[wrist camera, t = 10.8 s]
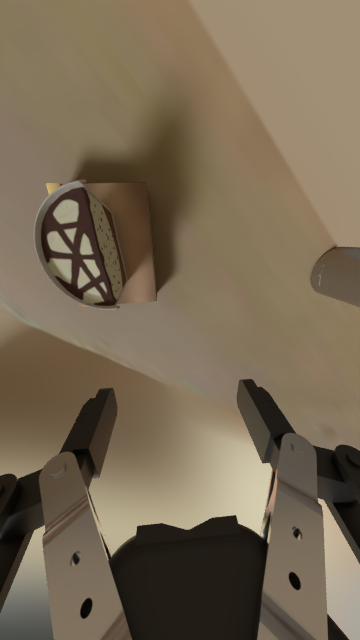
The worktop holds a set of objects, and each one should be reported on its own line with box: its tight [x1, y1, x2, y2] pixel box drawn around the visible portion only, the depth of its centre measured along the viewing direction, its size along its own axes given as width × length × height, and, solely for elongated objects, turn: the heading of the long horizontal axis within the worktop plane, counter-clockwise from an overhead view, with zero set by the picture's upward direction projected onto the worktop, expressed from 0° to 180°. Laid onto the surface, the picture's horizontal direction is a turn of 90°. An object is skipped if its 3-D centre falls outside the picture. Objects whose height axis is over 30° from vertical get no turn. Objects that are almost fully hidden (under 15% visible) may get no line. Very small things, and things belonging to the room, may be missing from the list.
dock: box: [46, 182, 157, 307], centre depth 28 cm, size 12×16×5 cm
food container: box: [33, 179, 128, 310], centre depth 22 cm, size 12×6×10 cm, turn 6°
